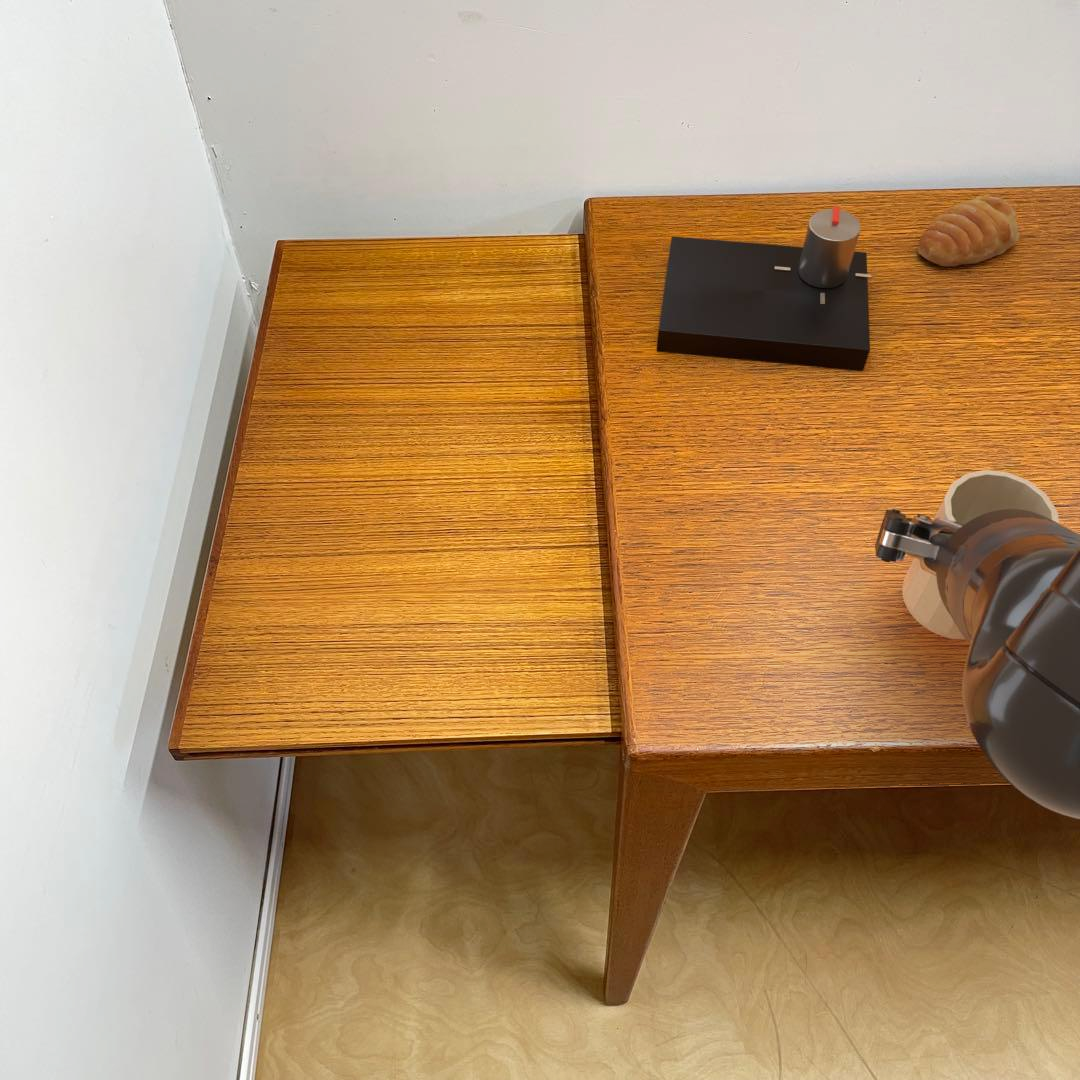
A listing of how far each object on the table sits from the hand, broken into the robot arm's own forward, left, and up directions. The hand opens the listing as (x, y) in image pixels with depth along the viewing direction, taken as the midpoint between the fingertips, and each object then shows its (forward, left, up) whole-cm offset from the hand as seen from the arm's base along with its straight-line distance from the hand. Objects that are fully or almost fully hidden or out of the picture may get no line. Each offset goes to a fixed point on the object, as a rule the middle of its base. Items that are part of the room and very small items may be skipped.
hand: (975, 545), depth 67 cm
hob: (+14, -29, -7) cm, 33 cm away
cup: (0, +1, -4) cm, 5 cm away
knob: (+9, -32, -4) cm, 34 cm away
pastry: (-5, -41, -7) cm, 42 cm away
